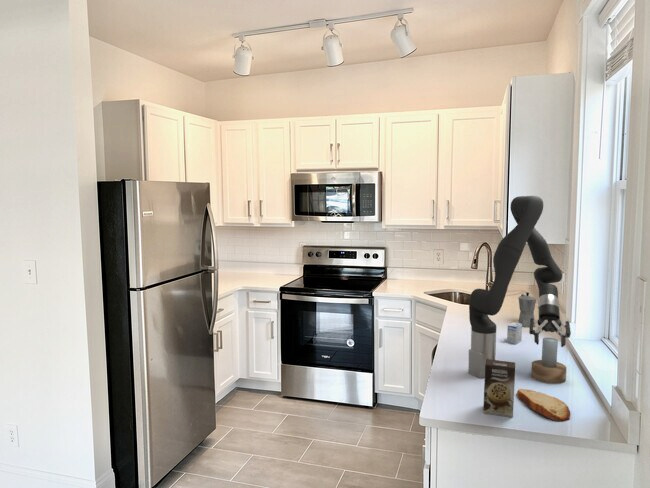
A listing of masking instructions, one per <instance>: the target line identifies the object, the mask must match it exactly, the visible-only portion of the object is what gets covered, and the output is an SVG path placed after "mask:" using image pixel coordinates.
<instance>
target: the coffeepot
mask: <svg viewBox="0 0 650 488" xmlns="http://www.w3.org/2000/svg"><path fill="white" fill-rule="evenodd" d="M536 302H537V297H533V296H531V295H530V292H525V294H524V293H522V294H521V295H520V296H518V306H519V310H520V311H519V312H520V313H519V316H518V322H517V323H521V324H522V328H529V329H530V319H531V318H533V319H534V320H536V319H535V314H534V313H535V312H534V311H535V308H536V304H537V303H536ZM535 327H536V324H535V325H533V328H535Z"/></svg>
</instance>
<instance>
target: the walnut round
mask: <svg viewBox="0 0 650 488" xmlns="http://www.w3.org/2000/svg"><path fill="white" fill-rule="evenodd" d="M541 363H542V359H536V360H533V361H531V370H530V372H531V373H530V375H531V378H533V379H535V380H536V381H539V382H542V383H546V384H563V383H565V382H566V381H567V366H566V365H565V364H564V363H560V362H558V361H557V365H556V367H553V368H552V367H545V366H543V365H542V364H541Z"/></svg>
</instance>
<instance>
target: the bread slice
mask: <svg viewBox="0 0 650 488" xmlns="http://www.w3.org/2000/svg"><path fill="white" fill-rule="evenodd" d="M515 395H516V396H517V398H518V399H519V400H520V402H522V403H523V404H524V405H525V406H527V407H528V408H530V409H531V410H532V411H534V412H535V413H538V415H541V416H543V417H545V418H546V419H549V420H552V421H556V422H559V423H564V422H566V421H570V419H571V411H570V408H569V405H568V404H566V403H565V402H564V401H562V400H560V399H559V398H557V397H555V396H551V395H548V394H547V393H543V392H541V391H536V390H533V389H527V388H526V389H524V388H519V389H518V390H517V392H516V393H515Z"/></svg>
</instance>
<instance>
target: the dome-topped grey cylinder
mask: <svg viewBox="0 0 650 488" xmlns="http://www.w3.org/2000/svg"><path fill="white" fill-rule="evenodd" d="M558 342H559V340H558V339H556V338H555V337H543V338H542V343H541V344H542V347H541V348H542V349H541V360H542V363H541V364H542V365H543V366H545V367H552V368H553V367H556V365H557V362H558V346H559V345H558V344H559V343H558Z"/></svg>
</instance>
